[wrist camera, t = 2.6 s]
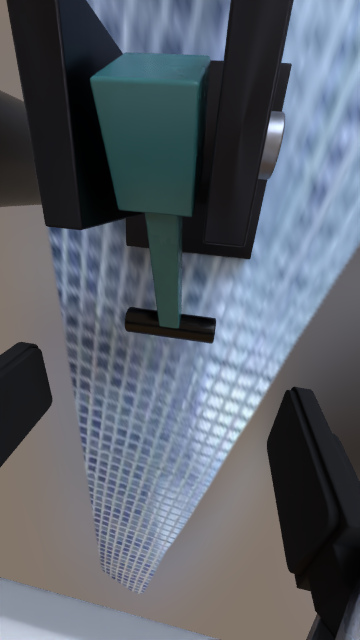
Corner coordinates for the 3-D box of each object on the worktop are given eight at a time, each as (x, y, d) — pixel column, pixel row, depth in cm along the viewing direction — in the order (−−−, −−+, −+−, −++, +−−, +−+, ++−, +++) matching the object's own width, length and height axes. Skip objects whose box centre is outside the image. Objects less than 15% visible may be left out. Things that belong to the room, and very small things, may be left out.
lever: (214, 320, 15) (211, 355, 14) (135, 310, 15) (124, 343, 14) (270, 56, 6) (276, 85, 4) (70, 50, 6) (20, 73, 5)
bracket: (248, 255, 18) (296, 357, 7) (131, 242, 19) (1, 314, 8) (286, 73, 13) (645, -574, 2) (128, 66, 14) (-224, -426, 3)
